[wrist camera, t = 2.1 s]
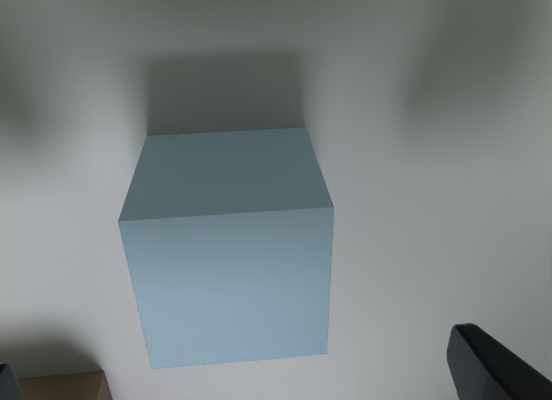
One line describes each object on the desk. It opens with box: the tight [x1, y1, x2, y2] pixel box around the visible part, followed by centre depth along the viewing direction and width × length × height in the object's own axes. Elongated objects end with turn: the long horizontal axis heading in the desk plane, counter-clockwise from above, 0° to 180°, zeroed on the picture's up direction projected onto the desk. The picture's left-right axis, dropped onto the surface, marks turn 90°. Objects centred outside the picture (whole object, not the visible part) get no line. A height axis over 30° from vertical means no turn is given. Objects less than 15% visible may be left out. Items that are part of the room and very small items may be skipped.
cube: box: [118, 127, 334, 369], centre depth 13 cm, size 4×4×4 cm
